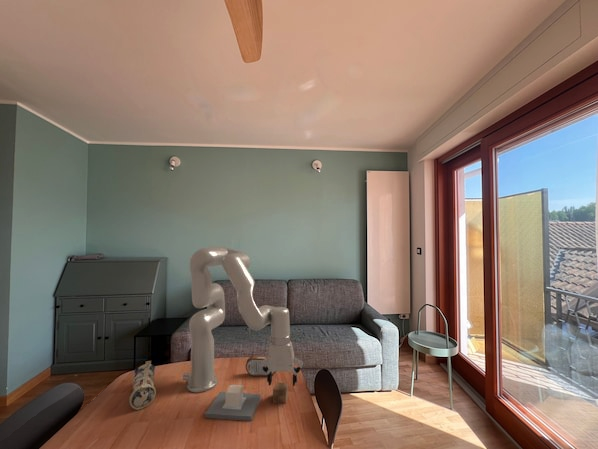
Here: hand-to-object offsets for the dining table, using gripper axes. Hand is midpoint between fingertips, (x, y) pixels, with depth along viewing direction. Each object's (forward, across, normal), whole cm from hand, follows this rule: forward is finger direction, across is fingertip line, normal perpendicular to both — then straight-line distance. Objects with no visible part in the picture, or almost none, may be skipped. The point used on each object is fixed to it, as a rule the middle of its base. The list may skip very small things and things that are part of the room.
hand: (282, 383), depth 101 cm
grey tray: (+6, -17, -6) cm, 19 cm away
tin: (+6, -13, +17) cm, 22 cm away
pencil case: (+5, -57, -3) cm, 57 cm away
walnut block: (+6, -1, 0) cm, 6 cm away
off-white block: (+4, -17, -6) cm, 19 cm away
